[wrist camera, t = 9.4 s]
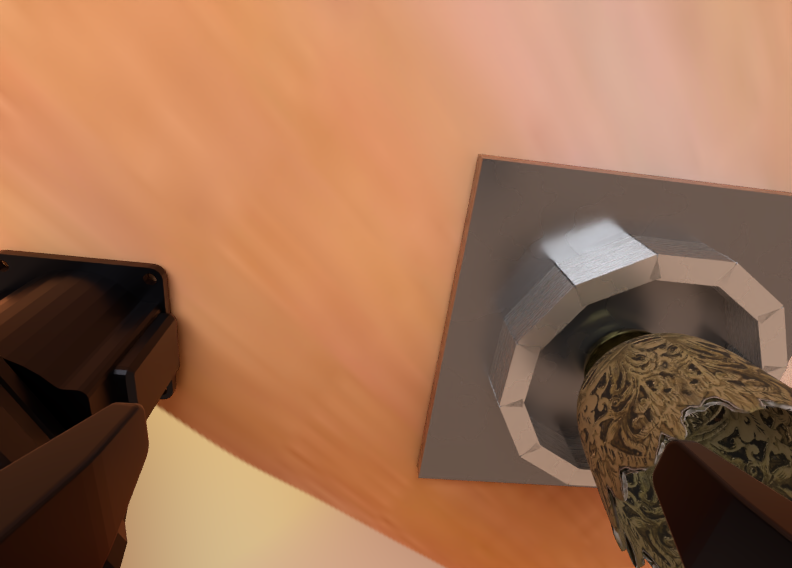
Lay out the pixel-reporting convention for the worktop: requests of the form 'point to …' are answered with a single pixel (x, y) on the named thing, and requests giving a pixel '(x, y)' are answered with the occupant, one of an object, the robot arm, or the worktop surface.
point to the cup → (674, 425)
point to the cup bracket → (590, 302)
